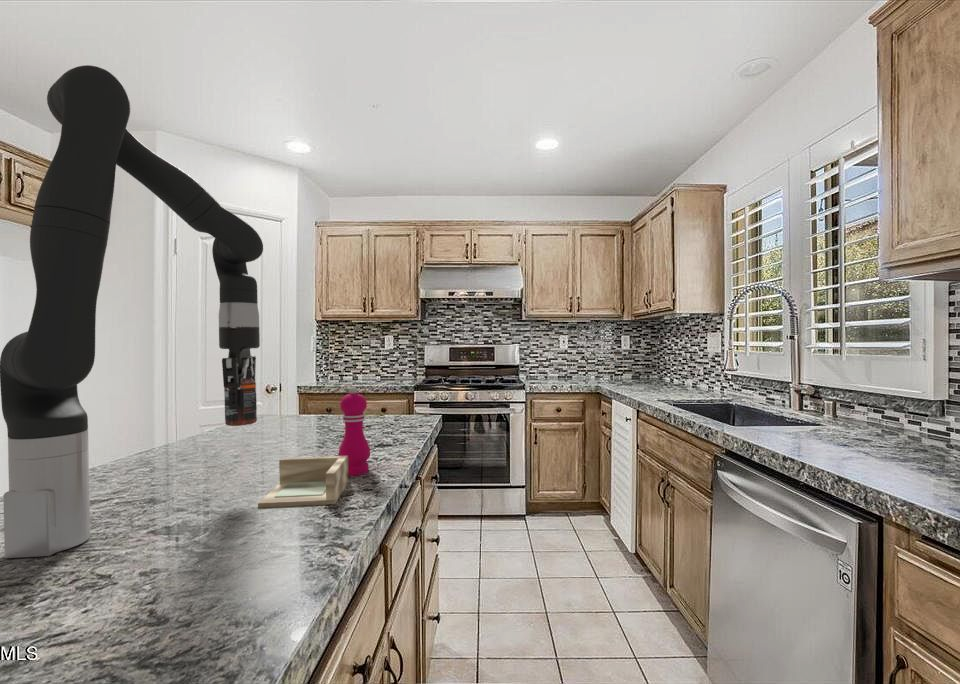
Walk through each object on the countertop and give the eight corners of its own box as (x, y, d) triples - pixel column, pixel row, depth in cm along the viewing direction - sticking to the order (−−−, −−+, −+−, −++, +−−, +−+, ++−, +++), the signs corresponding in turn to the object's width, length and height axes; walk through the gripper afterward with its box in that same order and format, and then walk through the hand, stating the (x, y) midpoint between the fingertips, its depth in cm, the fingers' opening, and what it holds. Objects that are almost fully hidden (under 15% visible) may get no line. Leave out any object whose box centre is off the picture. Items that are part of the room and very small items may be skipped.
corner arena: (334, 503, 91) (334, 473, 91) (258, 507, 89) (257, 476, 89) (348, 482, 105) (348, 455, 105) (282, 485, 103) (281, 458, 103)
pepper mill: (336, 470, 114) (334, 386, 114) (367, 466, 117) (365, 384, 117) (341, 478, 108) (339, 389, 108) (373, 473, 111) (372, 387, 111)
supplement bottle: (262, 421, 103) (261, 368, 102) (248, 426, 97) (247, 370, 97) (234, 421, 103) (233, 368, 103) (218, 426, 97) (217, 370, 97)
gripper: (231, 327, 106) (233, 403, 106) (206, 324, 92) (207, 412, 92) (267, 326, 107) (269, 401, 107) (248, 324, 93) (249, 411, 93)
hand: (240, 406), depth 100 cm, fingers closed on supplement bottle, 6 cm apart
